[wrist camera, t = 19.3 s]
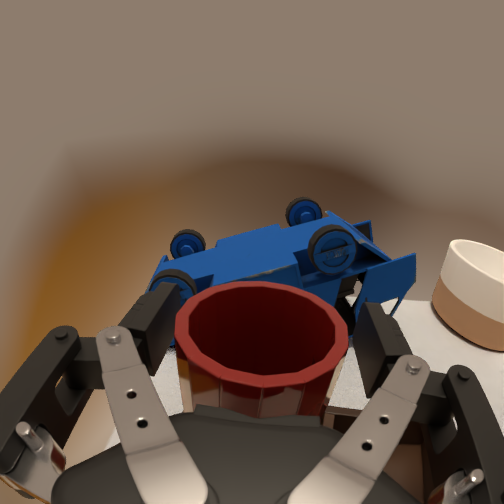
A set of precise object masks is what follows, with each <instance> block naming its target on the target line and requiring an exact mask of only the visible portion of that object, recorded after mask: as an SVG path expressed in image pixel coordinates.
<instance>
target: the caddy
mask: <svg viewBox="0 0 504 504" xmlns="http://www.w3.org/2000/svg"><path fill="white" fill-rule="evenodd" d="M362 411H363V410H357V409H349V408H341V407H334V406H327V408H326V411H325V413H324V416H323V418H322V420H321V423H320V425H324V426H327V427H330V428H332V429H335V430H337V431H339V432H340V433H342V434H345V433H346V432H347V431H348V429H349V428H350V427H351V425H352V424H353V423H354V421H355V420H356V419H357V417H358V416H359V415H360V413H361V412H362ZM182 413H184V410H183V412H182ZM383 470H384V471H385V472H386V473H387V474H388V475H389V476H390V477H391V478H393V479H394V480H395V481H396V482H397V483H398V484H399V485H401V486H402V487H403V488H404V489H405V490H406V491H408V492H409V493H410V494H411V495H412V496H413V497H415V498H416V499H417V500H418V501H420V502H421V503H422V504H428V498H429V496H430V494H431V492H432V491H433V490H434V486H433V481H432V476H431V470H430V465H429V461H428V456H427V451H426V447H425V443H424V438H423V434H422V430H421V426H420V423H419V422H414V421H410V422H409V424H408V426H407V428H406V430H405V432H404V434H403V436H402V437H401V439H400V441H399V443H398V445H397V447H396V448H395V450H394V452H393V454H392V455H391V457H390V459H389V460H388V462H387V464H386V465H385V467H384V468H383Z"/></svg>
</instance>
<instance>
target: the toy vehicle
mask: <svg viewBox="0 0 504 504" xmlns="http://www.w3.org/2000/svg"><path fill="white" fill-rule="evenodd" d="M326 213H327V214H328V215H329V217H326V218H322V212H321V208H320V207H319V205H318V204H317V203H316V202H315V201H313V200H312V199H310V198H307V197H300V198H296V199H294V200H293V201H292V202H290V204H289V205H288V207H287V209H286V215H285V216H286V219H287V222H288V224H289V226H290V227H288V228H285V229H280V226H279V224H274V225H271V226H267V227H264V228H260V229H256V230H252V231H249V232H245V233H241V234H238V235H234V236H231V237H228V238H224V239H220V240H218V241H217V244H216V246H215V248H212V249H208V250H205V246H206V244H205V241H204V238H203V237H202V236H201V234H200V233H198V232H196V231H194V230H190V229H185V230H182V231H179V232H178V233H177V234H176V235H175V236H174V238H173V240H172V242H171V244H170V251H171V254H172V256H173V258H174V260H170V261H169V259H168V257H167V255H164V256H163V257H162V259H161V261H160V263H159V265H158V267H157V269H156V271H155V273H154V275H153V277H152V279H151V281H150V283H149V285H148V288H147V289H146V292H145V293H147V292H149V291H153V292H154V291H155V289H156V288H157V287H158V285H159V284H160V283H161V282H168V283H175V284H178V285H179V289H180V304H181V307H182V306H183V305H184V304H185V302H186V301H187V300H188V299H189V298H190V297H192V296H194V295H196V294H198V293H200V292H202V291H203V290H205V289H207V288H210V287H213V286H217V285H222V284H226V283H231V282H236V281H262V282H263V281H266V282H272V283H278V284H285V285H289V286H293V287H296V288H299V289H301V290H304V291H307V292H310V293H312V294H314V295H316V296H318V297H319V298H321V299H322V300H324V301H325V302H327V303H328V304H330V305H331V306H333V307H334V308H335V309H336V310H337V312H338V313H339V315H340V316H341V317H342V319H343V320H344V321H345V323H346V324H347V327H348V338H350V337H353V332H354V329H355V325H356V322H357V318H358V315H359V311H360V308H361V305H362V303H363V302H371V303H380V304H381V303H383V302H386V301H389V300H391V299H394V298H397V297H398V301H397V303H396V305H395V306H394V308H393V310H392V311H391V313H390V314H389V315H390V316H391V317H392V316H393V314H394V313H395V311H396V309H397V308H398V306H399V305H400V303H401V301H402V299H403V298H404V296H405V294H406V293H407V291H408V290H409V289H410V288H411V286H412V285H413V284H414V283H415V282H416V253H412V254H409V255H407V256H404V257H400V258H397V259H394V260H391V259H390V258H389V257H388V256H387V255H386V254H385V253H384V252H382V251H381V250H380V249H379V248H378V247H377V246H375V245H374V244H373V237H372V228H371V220H367V221H364V222H360V223H356V224H353V225H350V224H349V223H348V222H346V221H345V220H343V219H341V218H340V217H338V216H337V215H335V214H334V213H332V212H331V211H326ZM357 278H358V280H357ZM356 281H360V282H361V283H362V288H361V291H360V293H359V295H358V297H357V299H356V300H355V302H354V304H353V306H352V307H351V306H350V305H349V303H348V301H347V300H346V298H345V296H347V295H350V294H353V293H354V289H353V288H354V285H355V283H356ZM173 345H175V340H174V338H173V340H172V342H171V344H170V346H173Z"/></svg>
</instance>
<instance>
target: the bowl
mask: <svg viewBox="0 0 504 504" xmlns="http://www.w3.org/2000/svg"><path fill="white" fill-rule="evenodd" d="M432 302H433V305H434V308H435V309H436V311H437V313H438V314H439V315H440V317H441V318H442V319H443V320H444V321H445V322H446V323H447V324H448V325H449V326H450V327H451V328H452V329H454V330H455V331H456V332H458V333H459V334H460V335H462V336H463V337H465V338H467V339H469V340H470V341H472V342H474V343H476V344H478V345H481V346H483V347H486V348H489V349H493V350H499V351H504V252H501V251H500V250H497V249H495V248H493V247H490V246H487V245H484V244H481V243H478V242H474V241H469V240H453V241H452V242H451V243H450V245H449V248H448V251H447V255H446V258H445V261H444V264H443V267H442V270H441V273H440V276H439V279H438V282H437V284H436V287H435V290H434V292H433V295H432Z"/></svg>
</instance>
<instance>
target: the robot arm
mask: <svg viewBox="0 0 504 504" xmlns="http://www.w3.org/2000/svg"><path fill="white" fill-rule="evenodd" d="M180 309H181V304H180V289H179V285H178V284H175V283H168V282H161V283H160V284H159V285H158V287H157V288H156V289H155V291H154V292H153V291H149V292H147V293H145V294H144V295H142V296H140V298H139V299H138V300H137V301H136V303H135V304H134V305H133V307H132V308H131V309H130V310H129V312H128V313H127V314H126V315H125V317H124V318H123V319H122V321H121V322H120V323H119V324H118V326H111V327H107V328H105V329H103V330H101V331H100V332H99V333H98V334H97V336H96V337H79V335H78V332H77V330H76V329H75V328H74V327H72V326H59V327H56V328H54V329H53V330H51V331H50V332H49V333H48V334H47V336H46V337H45V338H44V339H43V340H42V341H41V343H40V344H39V345H38V346H37V347H36V348H35V350H34V351H33V352H32V353H31V355H30V356H29V357H28V358H27V360H26V361H25V362H24V363H23V365H22V366H21V367H20V368H19V369H18V371H17V372H16V373H15V375H14V376H13V377H12V379H11V380H10V381H9V382H8V384H7V385H6V386H5V388H4V389H3V390H2V392H1V393H0V479H1V480H2V481H3V482H4V483H5V484H7V485H8V486H9V487H11V488H13V489H14V490H15V491H17V492H18V493H19V494H20V495H22V496H23V497H25V498H28V499H35V498H36V499H38V500H40V501H42V502H43V503H45V504H422V503H421V502H420V501H418V500H417V499H416V498H415V497H413V496H412V495H411V494H410V493H409V492H408V491H406V490H405V489H404V488H403V487H402V486H401V485H399V484H398V483H397V482H396V481H395V480H394V479H393V478H391V477H390V476H389V475H388V474H387V473H386V472H385V471H384V470H383V468H384V467H385V465H386V464H387V462H388V460H389V459H390V457H391V455H392V454H393V452H394V450H395V448H396V447H397V445H398V443H399V441H400V439H401V437H402V436H403V434H404V432H405V430H406V428H407V426H408V424H409V422H410V421H414V422H419V423H420V426H421V430H422V434H423V438H424V443H425V447H426V451H427V456H428V461H429V465H430V470H431V476H432V481H433V486H434V490H433V491H432V492H431V494H430V496H429V498H428V504H504V437H503V434H502V432H501V429H500V427H499V424H498V422H497V420H496V417H495V415H494V413H493V410H492V408H491V406H490V404H489V402H488V399H487V397H486V395H485V393H484V391H483V389H482V387H481V385H480V383H479V381H478V379H477V377H476V375H475V373H474V372H473V371H472V370H471V369H469V368H468V367H466V366H463V365H454V366H452V367H450V369H449V370H448V372H447V374H444V373H439V372H434V371H430V367H429V365H428V364H427V362H426V361H425V360H423V359H422V358H420V357H418V356H415V355H413V354H412V351H411V349H410V347H409V345H408V343H407V341H406V339H405V337H403V333H402V331H401V330H400V327H399V325H398V323H397V321H396V320H395V319H394V318H393V317H391V316H390V315H389V314H385V313H384V310H383V308H382V306H381V304H380V303H371V302H363V303H362V305H361V308H360V311H359V315H358V318H357V322H356V325H355V329H354V332H353V346H354V349H355V353H356V357H357V361H358V365H359V369H360V373H361V377H362V381H363V385H364V389H365V394H366V398H367V399H368V398H371V399H370V401H369V402H368V404H367V405H366V406H365V408H364V409H363V411H362V412H361V413H360V415H359V416H358V417H357V419H356V420H355V421H354V423H353V424H352V425H351V427H350V428H349V429H348V431H347V432H346V433H345V434H342V433H340V432H339V431H337V430H335V429H332V428H330V427H327V426H324V425H320V416H303V415H285V416H277V417H269V418H253V417H250V416H247V415H244V414H241V413H238V412H235V411H232V410H229V409H227V408H220V407H213V406H207V405H201V404H196V407H195V410H194V412H185V413H179V414H175V415H172V416H169V417H168V415H167V413H166V411H165V409H164V407H163V405H162V403H161V401H160V398H159V396H158V394H157V392H156V390H155V387H154V385H153V383H152V380H151V378H150V376H155V374H156V372H157V370H158V368H159V366H160V364H161V362H162V360H163V358H164V356H165V354H166V352H167V350H168V348H169V346H170V344H171V342H172V340H173V338H174V328H175V316H176V314H177V312H178V311H179V310H180ZM61 376H62V377H63V378H62V379H61V381H60V382H59V384H58V385H57V387H56V388H55V386H56V383H57V382H58V380H59V379H60V377H61ZM94 389H105V391H106V395H107V398H108V402H109V405H110V409H111V413H112V416H113V419H114V423H115V426H116V429H117V432H118V435H119V438H120V441H121V443H119V444H117V445H115V446H113V447H111V448H109V449H107V450H105V451H103V452H101V453H99V454H98V455H95V456H93V457H91V458H89V459H87V460H85V461H83V462H81V463H79V464H77V465H74V466H72V467H70V468H68V469H67V470H65V464H66V456H65V454H64V452H63V448H64V446H65V444H66V442H67V439H68V438H69V436H70V434H71V432H72V430H73V428H74V426H75V424H76V422H77V420H78V418H79V416H80V414H81V413H82V411H83V409H84V407H85V405H86V403H87V401H88V400H89V398H90V396H91V394H92V392H93V390H94ZM453 417H455V420H456V422H457V430H456V427H455V424H454V421H453Z"/></svg>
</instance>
